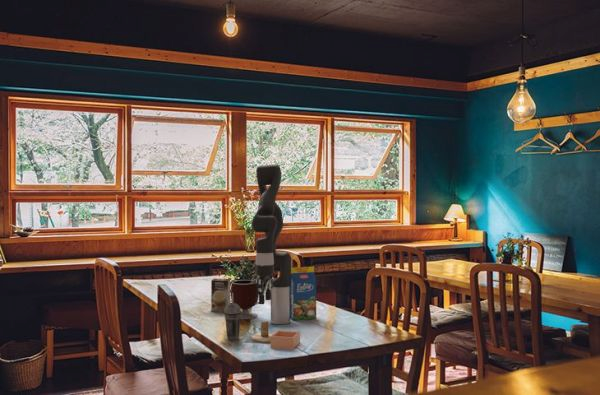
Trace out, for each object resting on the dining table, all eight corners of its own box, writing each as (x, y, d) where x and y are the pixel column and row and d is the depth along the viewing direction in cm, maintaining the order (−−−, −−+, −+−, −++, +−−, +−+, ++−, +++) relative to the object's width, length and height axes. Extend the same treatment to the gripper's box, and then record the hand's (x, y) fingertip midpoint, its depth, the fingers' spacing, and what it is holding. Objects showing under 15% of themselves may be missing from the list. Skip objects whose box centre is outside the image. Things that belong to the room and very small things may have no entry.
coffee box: (210, 311, 306) (210, 280, 306) (213, 308, 313) (213, 278, 313) (228, 311, 306) (227, 280, 305) (230, 309, 312) (230, 278, 312)
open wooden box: (277, 342, 245) (277, 330, 245) (300, 344, 242) (300, 331, 242) (270, 348, 236) (270, 336, 235) (293, 350, 233) (293, 337, 233)
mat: (254, 335, 257) (254, 333, 257) (285, 337, 254) (285, 335, 254) (243, 343, 244) (243, 342, 244) (275, 345, 240) (275, 344, 240)
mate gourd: (225, 317, 292) (225, 277, 291) (240, 312, 304) (240, 273, 303) (252, 321, 284) (251, 279, 284) (267, 315, 297) (266, 275, 296)
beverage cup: (242, 337, 253) (242, 290, 252) (241, 342, 245) (240, 294, 245) (225, 338, 252) (224, 291, 252) (223, 342, 245) (223, 294, 245)
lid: (256, 334, 255) (256, 318, 255) (281, 336, 252) (281, 319, 252) (247, 341, 245) (247, 324, 244) (273, 343, 242) (273, 325, 242)
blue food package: (316, 318, 289) (316, 267, 289) (293, 320, 285) (293, 268, 284) (311, 316, 295) (311, 265, 294) (288, 318, 291) (288, 267, 290)
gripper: (261, 261, 256) (261, 298, 256) (250, 265, 242) (250, 305, 242) (278, 261, 254) (278, 299, 254) (268, 265, 240) (268, 306, 240)
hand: (264, 302), depth 248 cm, fingers open, 8 cm apart
